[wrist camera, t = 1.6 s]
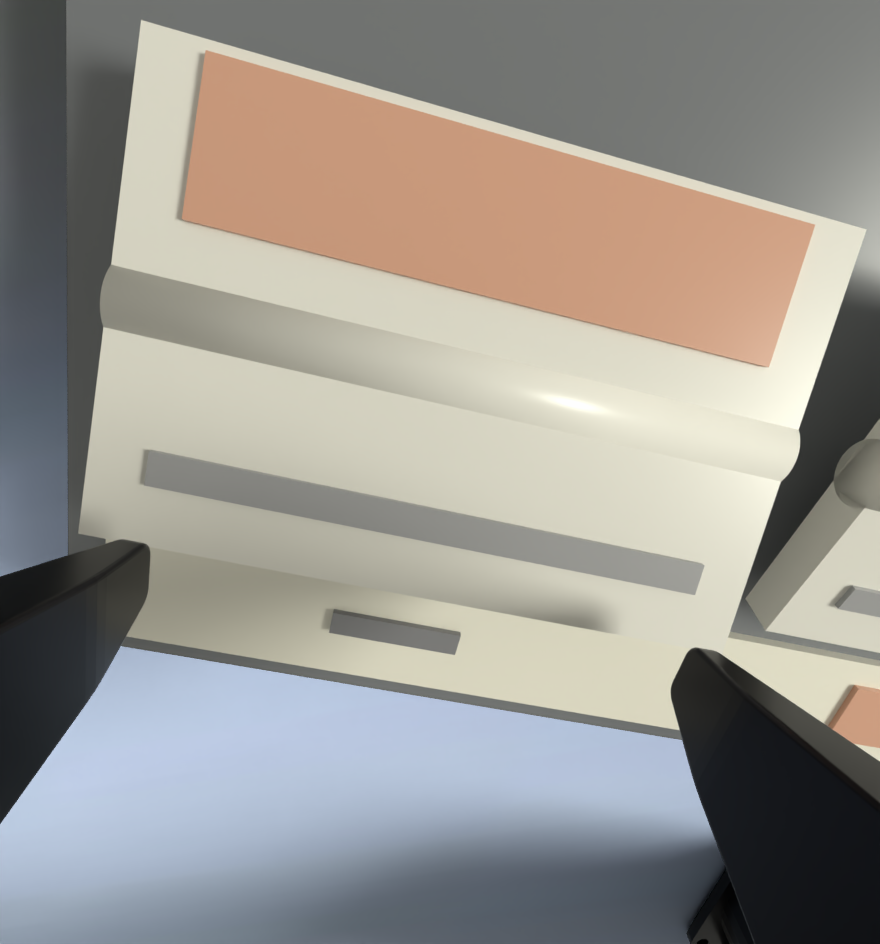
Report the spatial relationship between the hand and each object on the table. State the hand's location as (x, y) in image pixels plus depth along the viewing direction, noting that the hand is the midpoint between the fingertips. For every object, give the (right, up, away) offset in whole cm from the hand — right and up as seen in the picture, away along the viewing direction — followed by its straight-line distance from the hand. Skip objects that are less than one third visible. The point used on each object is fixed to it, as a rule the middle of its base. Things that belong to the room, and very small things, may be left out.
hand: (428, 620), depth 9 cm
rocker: (+1, +4, +1) cm, 4 cm away
